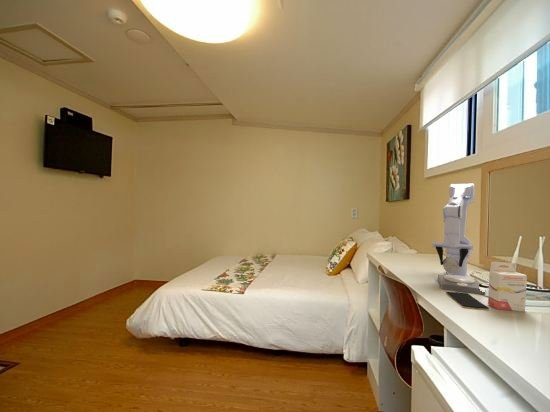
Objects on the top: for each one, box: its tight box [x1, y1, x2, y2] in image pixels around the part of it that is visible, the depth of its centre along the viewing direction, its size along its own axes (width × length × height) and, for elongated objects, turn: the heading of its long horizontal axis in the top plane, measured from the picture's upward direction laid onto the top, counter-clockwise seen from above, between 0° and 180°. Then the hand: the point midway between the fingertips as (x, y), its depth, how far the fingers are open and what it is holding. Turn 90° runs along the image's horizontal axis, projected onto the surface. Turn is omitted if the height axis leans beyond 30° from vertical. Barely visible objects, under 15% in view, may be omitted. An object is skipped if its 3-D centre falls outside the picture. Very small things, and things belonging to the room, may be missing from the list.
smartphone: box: [445, 291, 490, 311], centre depth 97 cm, size 7×1×15 cm
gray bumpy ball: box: [442, 255, 459, 273], centre depth 118 cm, size 6×7×7 cm
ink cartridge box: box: [487, 261, 528, 312], centre depth 92 cm, size 9×5×15 cm, turn 84°
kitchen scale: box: [437, 274, 486, 295], centre depth 115 cm, size 16×14×3 cm
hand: (450, 265), depth 117 cm, fingers closed on gray bumpy ball, 6 cm apart
